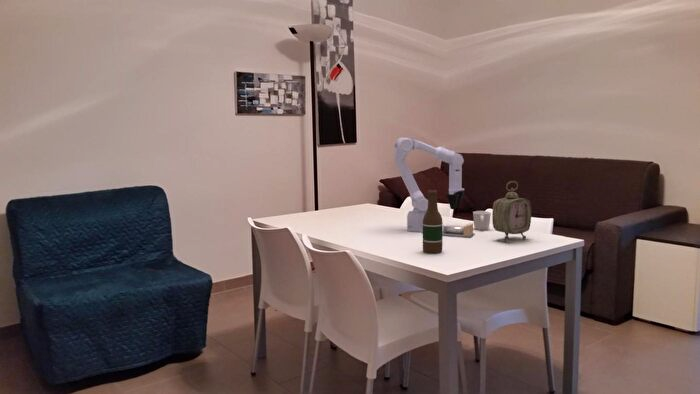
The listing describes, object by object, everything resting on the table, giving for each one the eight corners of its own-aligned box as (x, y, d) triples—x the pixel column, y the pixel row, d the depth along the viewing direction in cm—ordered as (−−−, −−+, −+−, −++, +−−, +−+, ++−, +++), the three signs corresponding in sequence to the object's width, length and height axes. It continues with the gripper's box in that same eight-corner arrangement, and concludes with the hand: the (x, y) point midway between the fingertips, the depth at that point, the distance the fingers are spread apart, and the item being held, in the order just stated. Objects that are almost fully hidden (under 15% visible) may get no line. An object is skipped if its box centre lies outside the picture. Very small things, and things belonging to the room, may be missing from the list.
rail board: (427, 234, 244) (427, 223, 243) (433, 231, 251) (433, 220, 250) (470, 238, 236) (470, 226, 235) (474, 234, 243) (474, 223, 242)
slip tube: (443, 233, 243) (443, 226, 243) (445, 232, 246) (445, 225, 246) (467, 235, 239) (467, 227, 238) (469, 233, 241) (469, 226, 241)
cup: (491, 232, 247) (491, 214, 246) (473, 231, 249) (473, 214, 248) (490, 227, 258) (490, 211, 257) (472, 227, 259) (472, 210, 258)
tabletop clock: (506, 244, 223) (507, 183, 220) (490, 240, 230) (491, 181, 227) (530, 239, 230) (532, 180, 227) (513, 236, 238) (515, 179, 235)
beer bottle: (420, 249, 216) (420, 189, 213) (439, 249, 216) (440, 188, 213) (424, 254, 208) (424, 191, 205) (444, 253, 209) (445, 191, 206)
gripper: (459, 180, 246) (459, 210, 247) (467, 177, 258) (467, 206, 260) (444, 180, 249) (444, 209, 250) (453, 177, 262) (452, 205, 263)
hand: (455, 208), depth 256 cm, fingers open, 7 cm apart
